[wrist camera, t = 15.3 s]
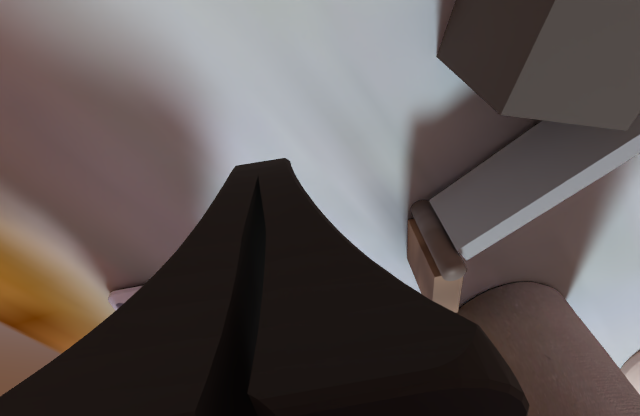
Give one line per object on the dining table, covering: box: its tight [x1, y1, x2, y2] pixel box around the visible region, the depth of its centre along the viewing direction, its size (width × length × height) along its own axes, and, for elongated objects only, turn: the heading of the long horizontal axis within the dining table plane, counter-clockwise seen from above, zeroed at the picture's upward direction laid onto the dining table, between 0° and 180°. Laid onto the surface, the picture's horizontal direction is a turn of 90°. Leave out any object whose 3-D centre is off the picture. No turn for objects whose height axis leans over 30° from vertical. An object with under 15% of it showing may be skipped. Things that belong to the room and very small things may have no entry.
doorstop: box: [437, 0, 640, 131], centre depth 15 cm, size 8×4×6 cm, turn 80°
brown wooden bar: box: [407, 200, 467, 313], centre depth 14 cm, size 30×2×5 cm, turn 7°
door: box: [429, 113, 640, 260], centre depth 18 cm, size 16×1×4 cm, turn 131°
